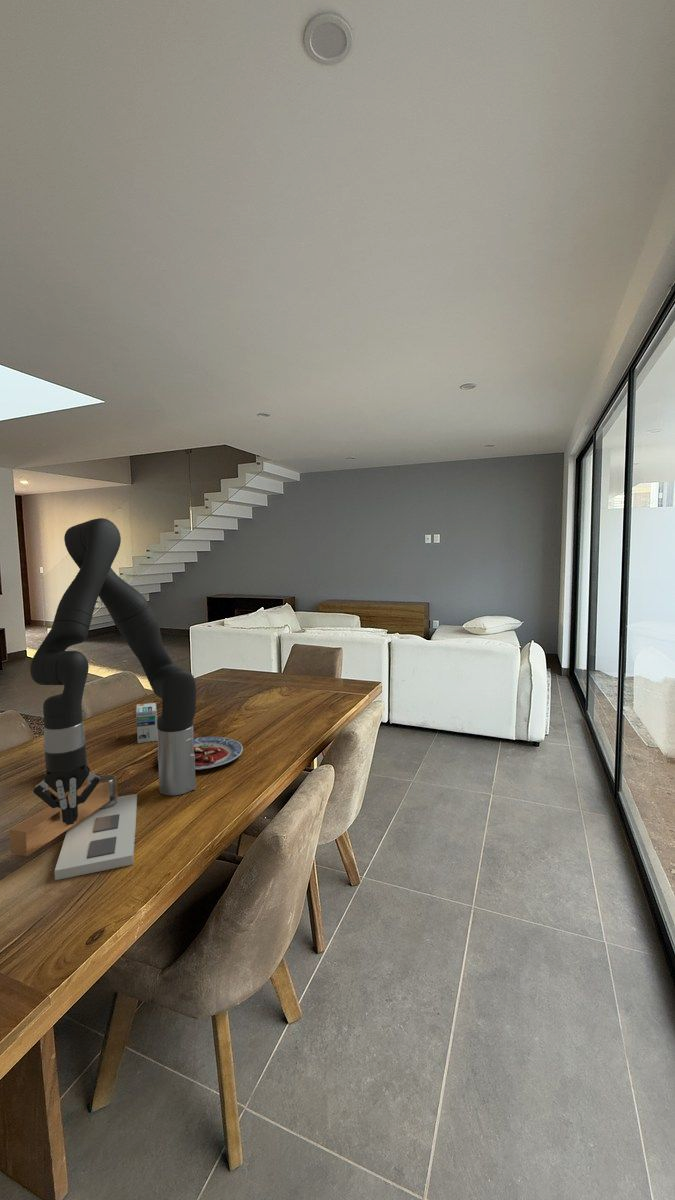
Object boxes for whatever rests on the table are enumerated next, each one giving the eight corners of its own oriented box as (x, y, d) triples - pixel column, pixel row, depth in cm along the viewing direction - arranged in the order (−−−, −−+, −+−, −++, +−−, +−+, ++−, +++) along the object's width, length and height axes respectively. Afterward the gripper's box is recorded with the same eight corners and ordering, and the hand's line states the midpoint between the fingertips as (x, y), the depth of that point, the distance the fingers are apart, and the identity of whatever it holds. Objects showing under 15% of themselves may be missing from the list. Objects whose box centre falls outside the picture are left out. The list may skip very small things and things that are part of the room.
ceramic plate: (221, 779, 139) (221, 769, 139) (140, 772, 144) (139, 762, 144) (255, 746, 164) (255, 737, 164) (184, 740, 169) (184, 732, 169)
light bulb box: (158, 741, 168) (157, 710, 167) (137, 744, 165) (135, 712, 165) (157, 731, 178) (156, 702, 177) (137, 733, 175) (136, 704, 174)
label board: (137, 801, 126) (136, 790, 126) (133, 864, 100) (132, 850, 100) (76, 811, 121) (75, 799, 121) (55, 880, 95) (54, 865, 95)
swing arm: (119, 795, 122) (118, 775, 122) (27, 856, 97) (26, 832, 97) (104, 793, 123) (103, 773, 123) (10, 853, 98) (8, 829, 98)
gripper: (101, 734, 109) (106, 808, 111) (32, 742, 104) (38, 820, 106) (98, 746, 102) (103, 825, 104) (24, 756, 97) (30, 839, 99)
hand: (70, 822), depth 105 cm, fingers closed
